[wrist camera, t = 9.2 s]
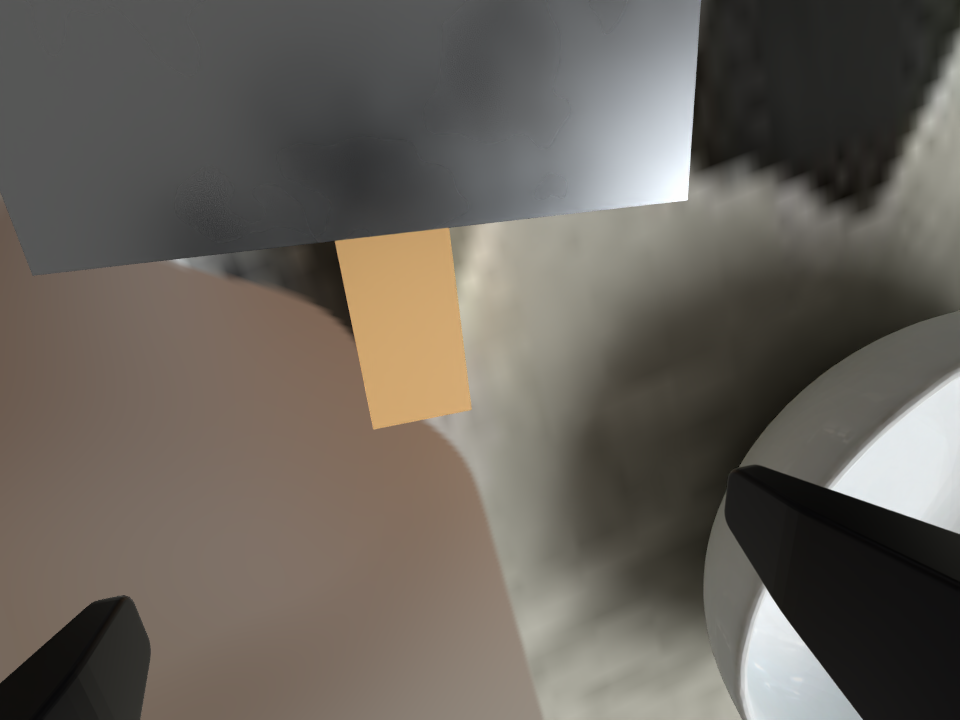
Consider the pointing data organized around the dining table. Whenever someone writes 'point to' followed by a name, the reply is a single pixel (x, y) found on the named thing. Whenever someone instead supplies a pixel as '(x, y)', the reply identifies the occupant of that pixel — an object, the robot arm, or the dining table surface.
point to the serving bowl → (848, 470)
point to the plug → (406, 324)
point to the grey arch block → (330, 119)
